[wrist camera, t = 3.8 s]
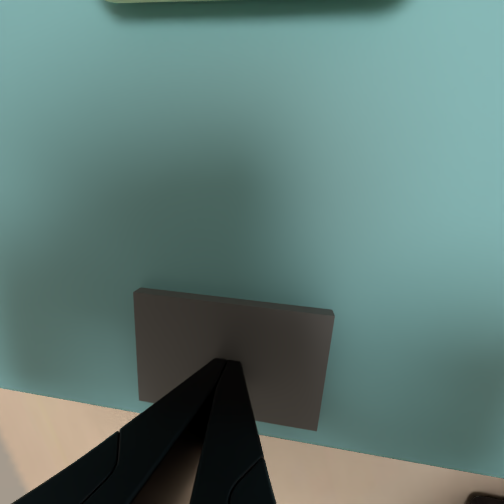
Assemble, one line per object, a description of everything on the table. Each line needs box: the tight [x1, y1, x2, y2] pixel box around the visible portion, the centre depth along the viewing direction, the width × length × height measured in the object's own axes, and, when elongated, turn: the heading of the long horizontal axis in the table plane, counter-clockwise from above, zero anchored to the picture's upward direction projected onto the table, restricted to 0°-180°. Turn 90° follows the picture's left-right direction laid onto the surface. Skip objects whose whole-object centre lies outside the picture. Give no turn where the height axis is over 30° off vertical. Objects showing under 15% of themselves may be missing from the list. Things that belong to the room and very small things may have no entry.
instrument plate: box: [0, 0, 504, 478], centre depth 7 cm, size 20×17×3 cm
